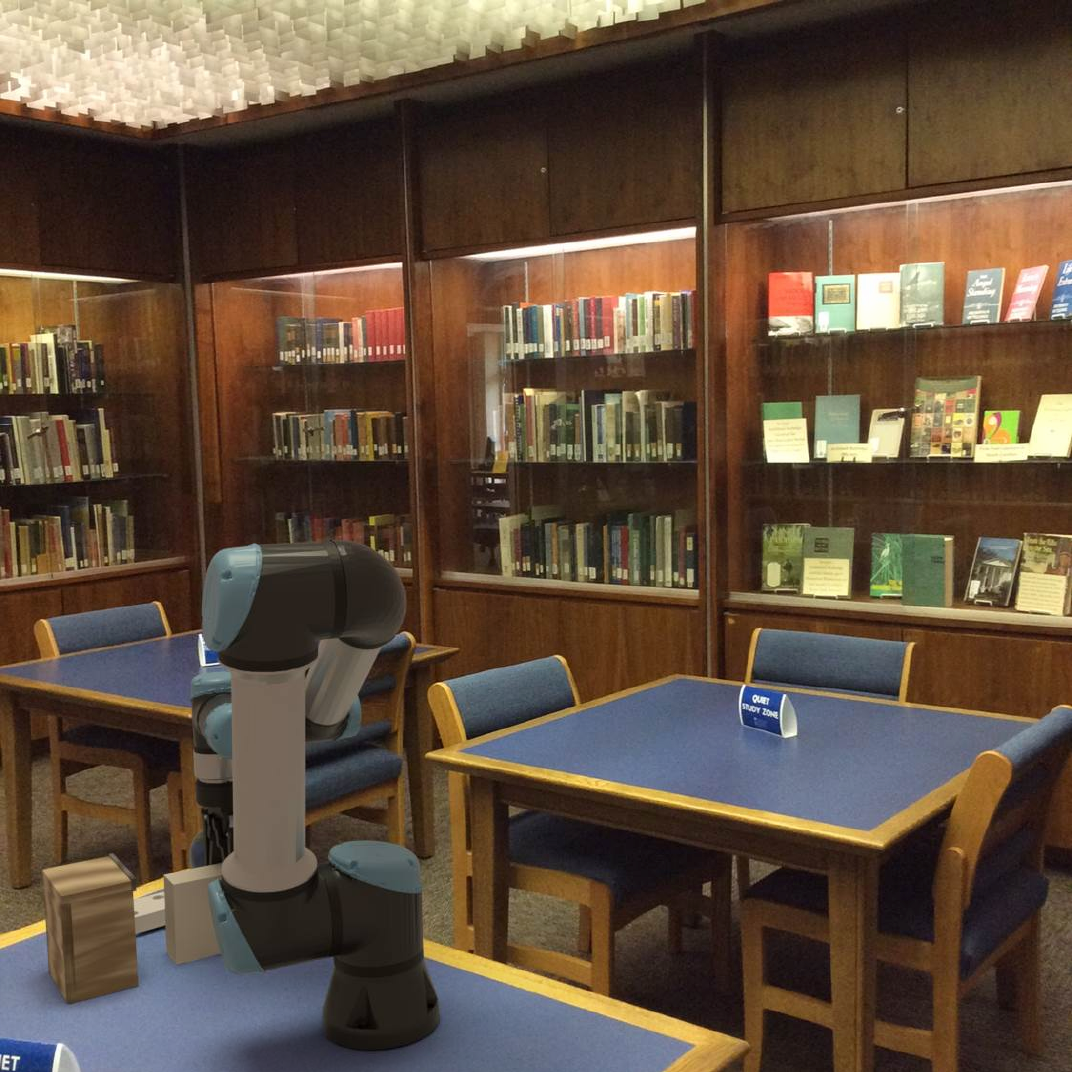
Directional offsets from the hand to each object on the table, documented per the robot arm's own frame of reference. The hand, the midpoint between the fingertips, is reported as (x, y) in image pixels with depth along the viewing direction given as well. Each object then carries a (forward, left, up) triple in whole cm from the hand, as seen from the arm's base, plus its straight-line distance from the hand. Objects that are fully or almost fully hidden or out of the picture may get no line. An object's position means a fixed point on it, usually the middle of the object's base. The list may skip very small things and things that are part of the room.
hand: (228, 925), depth 187 cm
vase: (+22, -9, -3) cm, 24 cm away
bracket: (+15, +10, -3) cm, 18 cm away
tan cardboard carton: (0, +4, -3) cm, 5 cm away
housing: (0, +20, -3) cm, 20 cm away
